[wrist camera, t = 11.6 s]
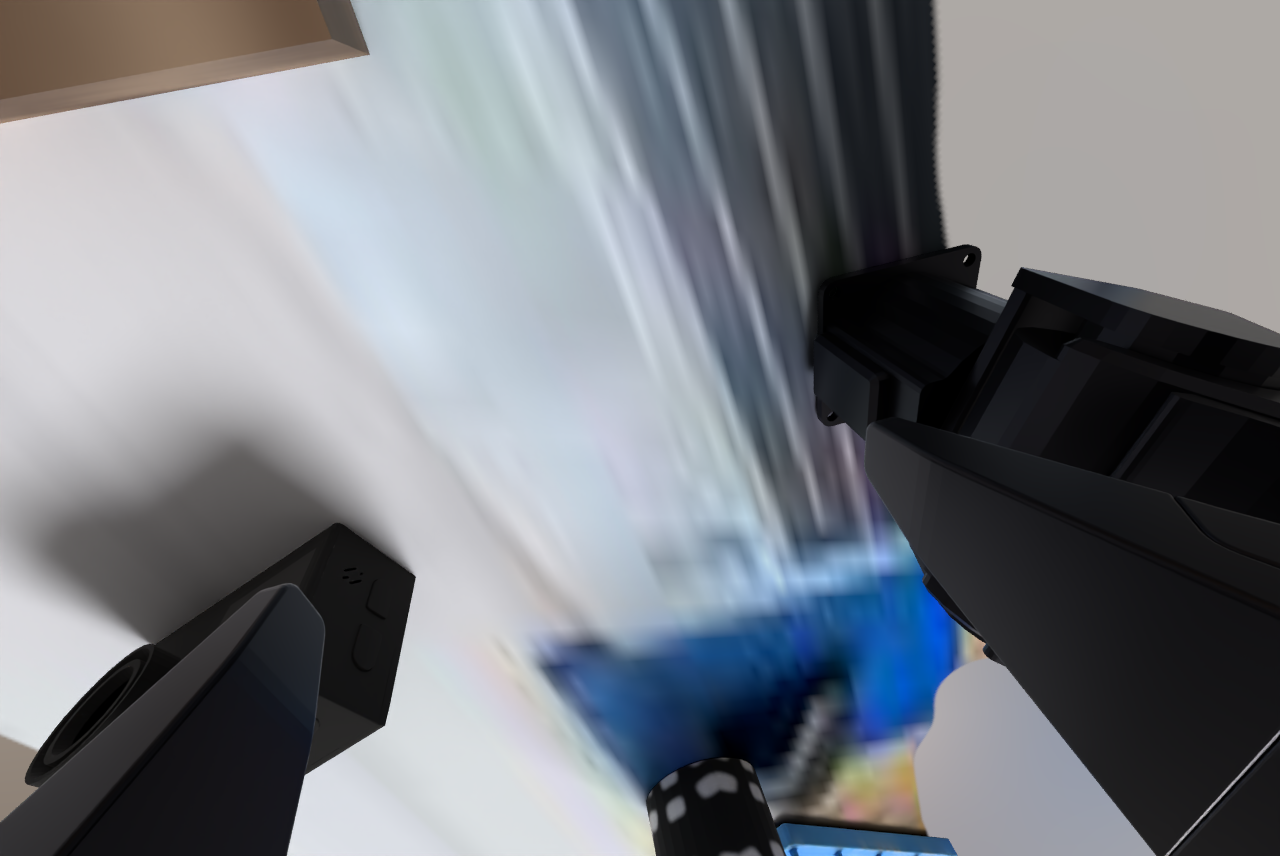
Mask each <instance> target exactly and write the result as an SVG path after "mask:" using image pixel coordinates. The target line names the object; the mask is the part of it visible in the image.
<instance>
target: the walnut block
mask: <svg viewBox="0 0 1280 856" xmlns="http://www.w3.org/2000/svg"><path fill="white" fill-rule="evenodd" d="M365 55H370V54H369V51H368V48H367V46H366V43H365V40H364V38H363V35H362V32H361V29H360V27H359V24H358V21H357V18H356V16H355V13H354V10H353V7H352V5H351V2H350V0H0V123H6V122H11V121H16V120H22V119H27V118H33V117H38V116H43V115H49V114H54V113H59V112H65V111H70V110H75V109H81V108H86V107H92V106H97V105H102V104H108V103H113V102H118V101H124V100H129V99H134V98H140V97H145V96H151V95H156V94H161V93H167V92H172V91H177V90H183V89H188V88H193V87H199V86H204V85H209V84H215V83H220V82H226V81H231V80H236V79H242V78H247V77H252V76H258V75H263V74H268V73H274V72H279V71H285V70H290V69H295V68H301V67H306V66H311V65H317V64H322V63H327V62H333V61H338V60H344V59H349V58H354V57H360V56H365Z"/></svg>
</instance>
